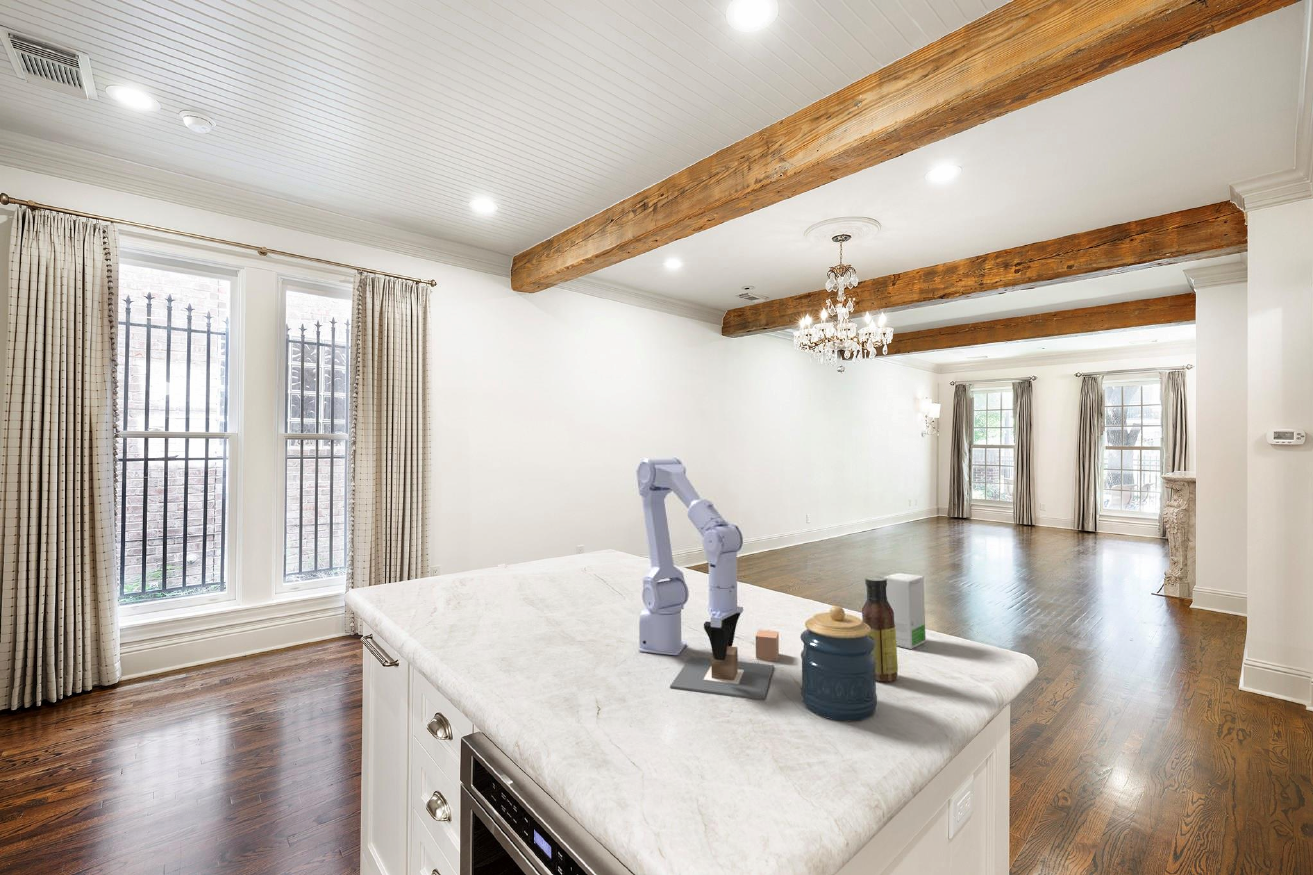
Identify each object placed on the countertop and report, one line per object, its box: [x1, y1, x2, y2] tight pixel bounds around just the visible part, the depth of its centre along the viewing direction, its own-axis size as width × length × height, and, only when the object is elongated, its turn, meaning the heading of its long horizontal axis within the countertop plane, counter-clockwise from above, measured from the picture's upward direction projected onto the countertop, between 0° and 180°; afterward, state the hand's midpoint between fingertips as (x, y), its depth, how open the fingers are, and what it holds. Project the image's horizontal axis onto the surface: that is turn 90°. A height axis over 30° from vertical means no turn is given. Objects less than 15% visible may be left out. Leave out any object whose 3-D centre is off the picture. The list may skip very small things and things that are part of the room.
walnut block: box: [710, 646, 739, 680], centre depth 112 cm, size 4×4×5 cm
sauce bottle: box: [861, 575, 899, 683], centre depth 111 cm, size 7×6×20 cm
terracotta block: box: [755, 629, 780, 662], centre depth 123 cm, size 4×4×5 cm
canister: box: [799, 605, 878, 722], centre depth 99 cm, size 13×13×18 cm
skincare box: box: [884, 572, 927, 650], centre depth 131 cm, size 8×7×16 cm
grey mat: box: [669, 655, 775, 701], centre depth 112 cm, size 18×16×1 cm
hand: (723, 652), depth 112 cm, fingers open, 7 cm apart
